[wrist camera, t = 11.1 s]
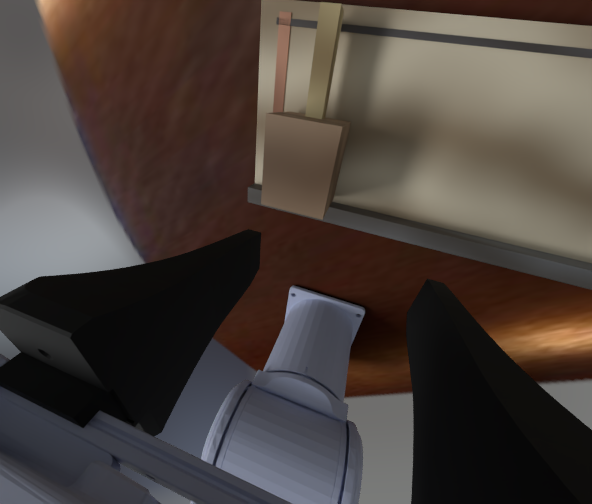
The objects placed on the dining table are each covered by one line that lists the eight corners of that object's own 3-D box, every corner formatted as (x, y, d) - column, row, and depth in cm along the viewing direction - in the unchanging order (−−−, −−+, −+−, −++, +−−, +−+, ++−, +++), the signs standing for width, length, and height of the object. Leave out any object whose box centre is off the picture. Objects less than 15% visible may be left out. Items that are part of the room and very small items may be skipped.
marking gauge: (333, 198, 18) (322, 219, 14) (282, 186, 18) (260, 204, 15) (375, 18, 12) (372, -14, 9) (300, 11, 13) (272, -21, 10)
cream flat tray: (639, 287, 16) (679, 315, 14) (261, 194, 21) (247, 204, 19) (915, 66, 10) (1072, 55, 7) (271, 6, 15) (252, -12, 12)
